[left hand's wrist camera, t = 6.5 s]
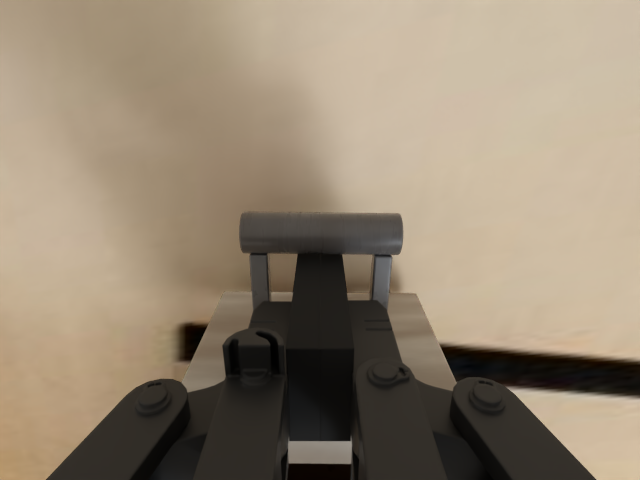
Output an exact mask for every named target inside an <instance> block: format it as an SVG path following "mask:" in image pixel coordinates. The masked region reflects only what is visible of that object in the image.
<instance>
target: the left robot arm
mask: <svg viewBox="0 0 640 480" xmlns="http://www.w3.org/2000/svg"><path fill="white" fill-rule="evenodd" d="M222 348H223V357H224V366H225V375H226V377H225V380H224V381H222V382H220V383H218V384H216V385H214V386H211V387H208V388H204V389H200V390H196V391H192V392H187V389H186V387H185V386H184V385H183V384H182V383H181V382H178V381H176V380H173V379H158V380H154V381H149V382H147V383H145V384H142V385H140V386H138V387H136V388H135V389H134V390H132V391H131V392H130V393H129V394H127V395H126V396H125V397H124V398H123V399H122V400H121V401H120V402H119V404H118V405H117V406H116V407H115V408H114V409H113V410H112V411H111V412H110V413H109V414H108V415H107V416H106V417H105V418H104V419H103V420H102V421H101V422H100V424H99V425H98V426H97V427H96V428H95V429H94V430H93V431H92V432H91V433H90V434H89V435H88V436H87V437H86V438H85V439H84V440H83V441H82V442H81V443H80V445H79V446H78V447H77V448H76V449H75V450H74V451H73V452H72V453H71V454H70V455H69V456H68V457H67V458H66V459H65V460H64V461H63V462H62V463H61V465H60V466H59V467H58V468H57V469H56V470H55V471H54V472H53V473H52V474H51V475H50V476H49V477H48V478H47V479H46V480H287V478H288V465H289V456H288V441H352V456H351V480H596V479H595V478H594V477H593V476H592V475H591V474H590V473H589V472H588V470H587V469H586V468H585V467H584V466H583V465H582V464H581V463H580V462H579V461H578V460H577V459H576V458H575V457H574V456H573V455H572V454H571V453H570V452H569V451H568V450H567V449H566V448H565V446H564V445H563V444H562V443H561V442H560V441H559V440H558V439H557V438H556V437H555V436H554V435H553V434H552V433H551V432H550V431H549V430H548V429H547V428H546V427H545V426H544V425H543V423H542V422H541V421H540V420H539V419H538V418H537V417H536V416H535V415H534V414H533V413H532V412H531V411H530V410H529V409H528V408H527V407H526V406H525V405H524V404H523V403H522V402H521V400H520V399H519V398H518V397H517V396H516V395H515V394H514V393H512V392H511V391H510V390H509V389H507V388H506V387H505V386H503V385H501V384H499V383H497V382H495V381H493V380H489V379H485V378H480V377H471V378H465V379H463V380H460V381H458V382H457V384H456V385H455V386H454V387H453V391H451V390H446V389H442V388H438V387H434V386H431V385H428V384H425V383H423V382H421V381H419V380H417V379H416V378H415V376H414V374H413V373H412V371H411V369H410V368H409V367H408V366H406V365H405V364H404V363H403V362H402V359H401V356H400V352H399V349H398V345H397V342H396V339H395V335H394V332H393V331H392V325H391V322H390V319H389V315H388V312H387V309H386V308H385V307H384V306H383V305H382V304H381V303H380V302H379V301H378V300H348V297H347V289H346V281H345V274H344V266H343V258H342V254H298V257H297V265H296V273H295V280H294V288H293V296H292V301H263V302H261V303H260V304H259V305H258V306H257V307H256V308H255V309H254V310H253V313H252V316H251V320H250V323H249V327H248V329H244V330H241V331H238V332H236V333H234V334H233V335H231V336H230V337H228V338H227V339H226V341H225V342H224V344H223V345H222Z"/></svg>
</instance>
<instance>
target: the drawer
mask: <svg viewBox="0 0 640 480" xmlns="http://www.w3.org/2000/svg"><path fill="white" fill-rule="evenodd" d="M239 239H240V247H241V250H242V252H243V253H251V254H250V256H249V257H250V274H251V290H252V292H239V291H225V292H224V293H223V295H222V297H221V299H220V301H219V303H218V305H217V308H216V310H215V312H214V314H213V316H212V318H211V320H210V322H209V325H208V327H207V329H206V331H205V333H204V335H203V337H202V340H201V342H200V344H199V346H198V348H197V350H196V352H195V354H194V357H193V359H192V361H191V363H190V365H189V367H188V369H187V371H186V374H185V376H184V378H183V380H182V382H181V383H182V384H183V385H184V386H185V387H186V389H187V392H192V391H196V390H200V389H204V388H208V387H211V386H214V385H216V384H218V383H220V382H222V381H224V380H225V377H226V375H225V366H224V357H223V348H222V345H223V344H224V342H225V341H226V339H227V338H228V337H230V336H231V335H233V334H234V333H236V332H238V331H241V330H244V329H248V327H249V323H250V320H251V316H252V313H253V310H254V309H255V308H256V307H257V306H258V305H259V304H260V303H261V302H263V301H292V296H293V292H271V276H270V254H360V255H372V266H371V281H370V293H347V297H348V300H378V301H379V302H380V303H381V304H382V305H383V306H384V307H385V308H386V309H387V312H388V315H389V319H390V322H391V325H392V331H393V332H394V335H395V339H396V342H397V345H398V349H399V352H400V356H401V359H402V362H403V363H404V364H405V365H406V366H408V367H409V368H410V369H411V371H412V373H413V374H414V376H415V378H416V379H417V380H419V381H421V382H423V383H425V384H428V385H431V386H434V387H438V388H442V389H446V390H451V391H453V387H454V386H455V385H456V384H457V383H456V381H455V379H454V376H453V374H452V372H451V370H450V368H449V365H448V363H447V361H446V359H445V356H444V354H443V352H442V350H441V348H440V345H439V343H438V341H437V339H436V336H435V334H434V332H433V330H432V328H431V325H430V323H429V321H428V319H427V317H426V314H425V312H424V310H423V308H422V305H421V303H420V301H419V299H418V297H417V294H415V293H389V290H390V278H391V267H392V256H391V255H399V254H400V252H401V249H402V243H403V223H402V218H401V215H400V214H398V213H321V212H243V213H242V215H241V219H240V227H239ZM288 456H289V465H288V478H287V480H351V456H352V441H288Z"/></svg>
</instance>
